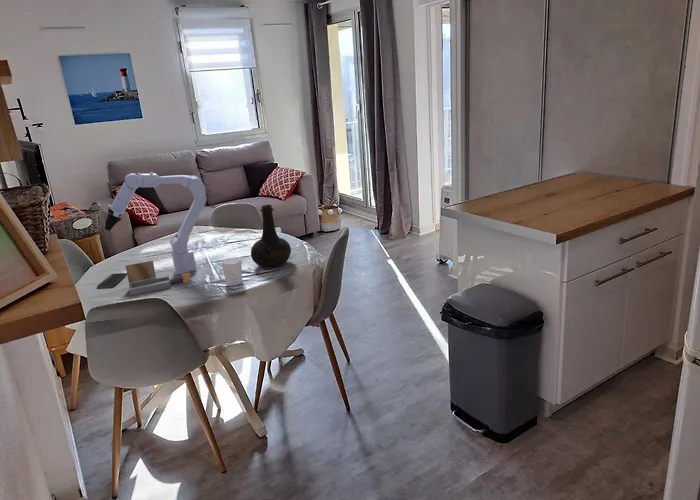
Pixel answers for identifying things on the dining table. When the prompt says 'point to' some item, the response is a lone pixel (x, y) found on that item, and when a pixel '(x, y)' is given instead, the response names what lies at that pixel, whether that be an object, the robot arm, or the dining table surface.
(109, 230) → the robot arm
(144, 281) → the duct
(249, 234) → the dining table surface
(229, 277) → the white cup
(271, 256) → the glass bottle
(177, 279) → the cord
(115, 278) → the phone
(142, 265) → the lid
